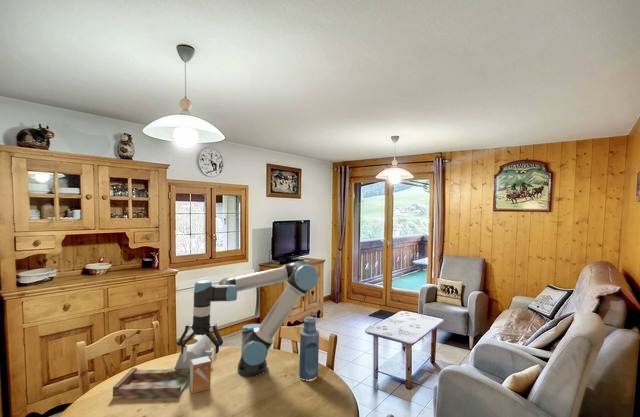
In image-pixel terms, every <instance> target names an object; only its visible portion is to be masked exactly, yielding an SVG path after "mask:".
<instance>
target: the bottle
mask: <svg viewBox="0 0 640 417" xmlns="http://www.w3.org/2000/svg"><path fill="white" fill-rule="evenodd" d="M316 323H317V321H316V318H315V317H314V316H310V315H309V316H306V317H305V318H304V319H303V326H302V329H301V330H300V331H299V339H300V340H299V362H298V364H299V368H298V369H299V371H298V377H299V376H300V378H302V379H305V380H306V379H307V380H309V379H313V378H315V377H317V376H319V352H320V351H319V350H320V346H319V345H320V331H319V330H318V329H317V326H316ZM300 378H299V379H300Z"/></svg>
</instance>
